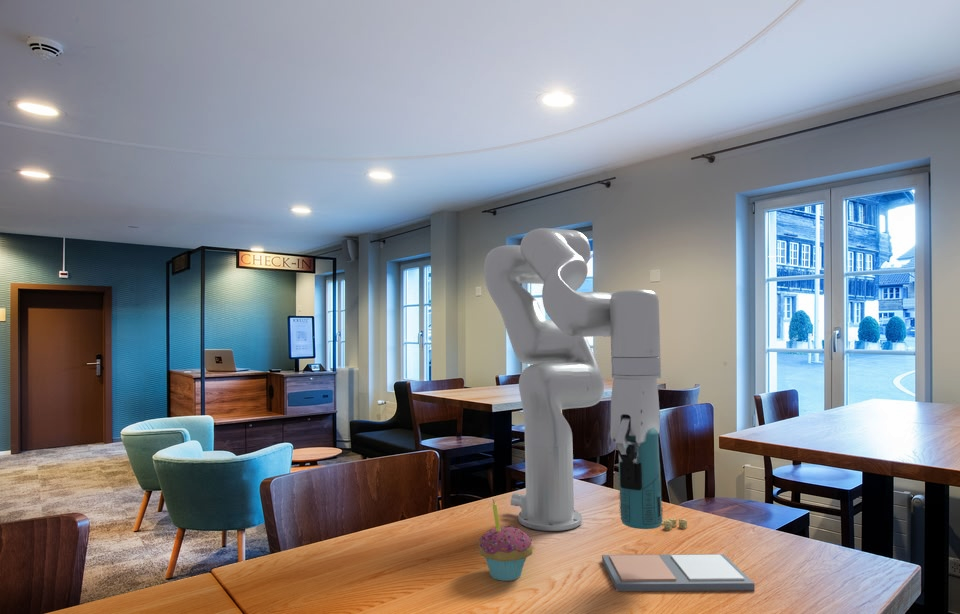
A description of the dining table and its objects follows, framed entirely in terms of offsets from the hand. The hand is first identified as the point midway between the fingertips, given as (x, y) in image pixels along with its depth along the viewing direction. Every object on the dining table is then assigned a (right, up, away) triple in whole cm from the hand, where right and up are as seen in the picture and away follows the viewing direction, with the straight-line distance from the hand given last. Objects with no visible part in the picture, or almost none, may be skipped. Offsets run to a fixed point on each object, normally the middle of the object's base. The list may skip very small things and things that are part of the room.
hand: (639, 482), depth 91 cm
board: (+5, -14, 0) cm, 15 cm away
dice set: (+12, -16, +22) cm, 29 cm away
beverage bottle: (0, -8, 0) cm, 8 cm away
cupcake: (-21, -15, +1) cm, 26 cm away
